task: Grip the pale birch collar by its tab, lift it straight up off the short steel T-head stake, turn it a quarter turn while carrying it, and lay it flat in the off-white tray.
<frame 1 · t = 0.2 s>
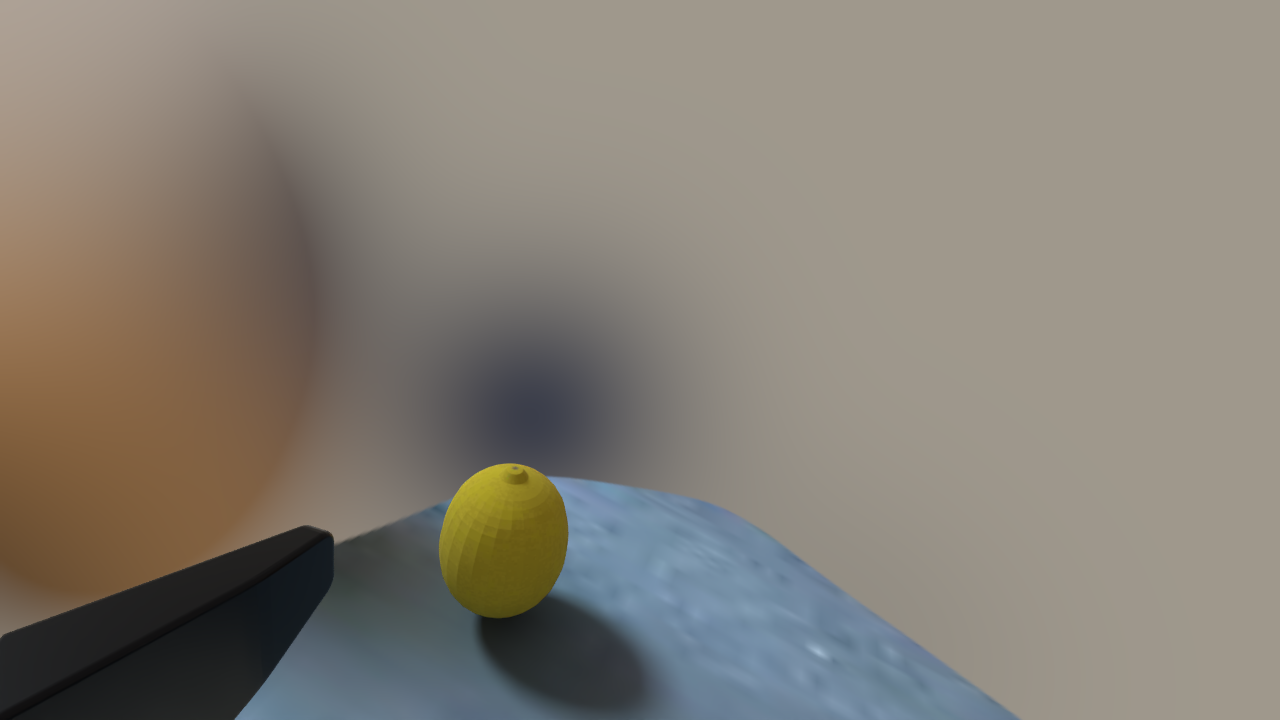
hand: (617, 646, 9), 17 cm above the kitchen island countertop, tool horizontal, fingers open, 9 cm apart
lemon: (495, 609, 30), on the kitchen island countertop
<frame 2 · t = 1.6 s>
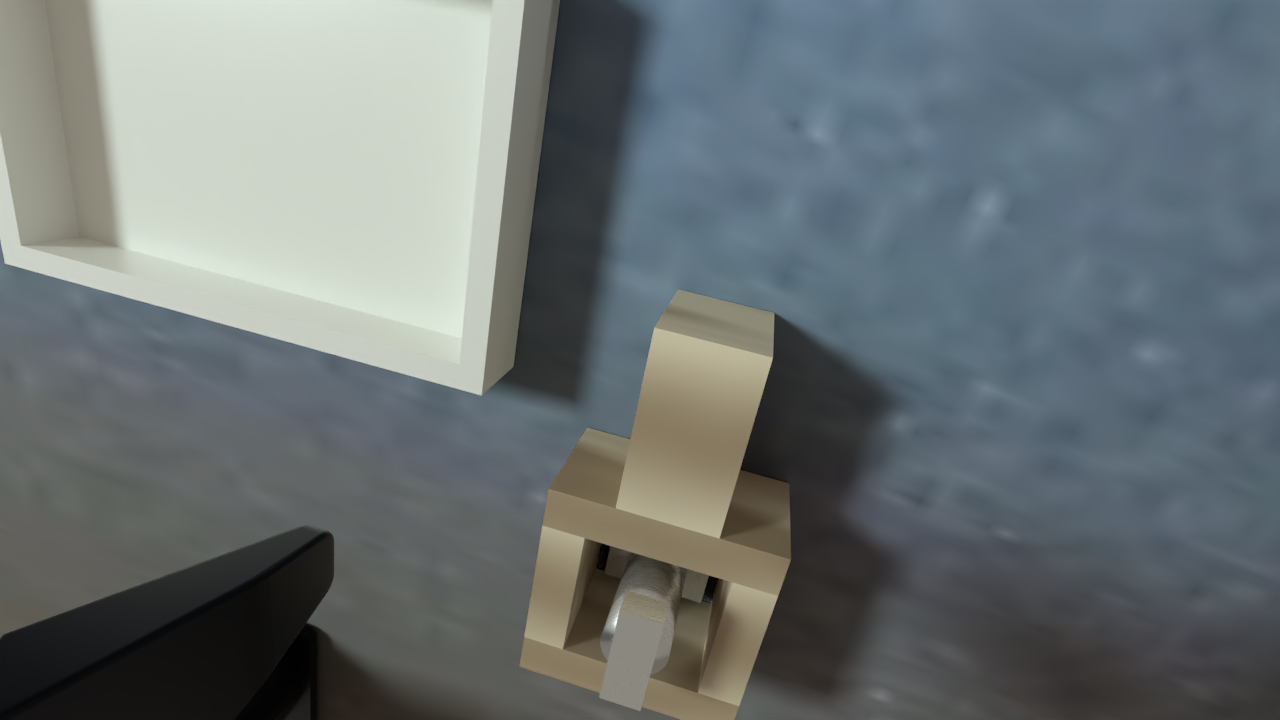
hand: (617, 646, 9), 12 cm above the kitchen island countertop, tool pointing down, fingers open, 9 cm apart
birch collar: (665, 538, 23), on the kitchen island countertop
tray: (283, 129, 20), on the kitchen island countertop
t stake: (665, 538, 23), on the kitchen island countertop
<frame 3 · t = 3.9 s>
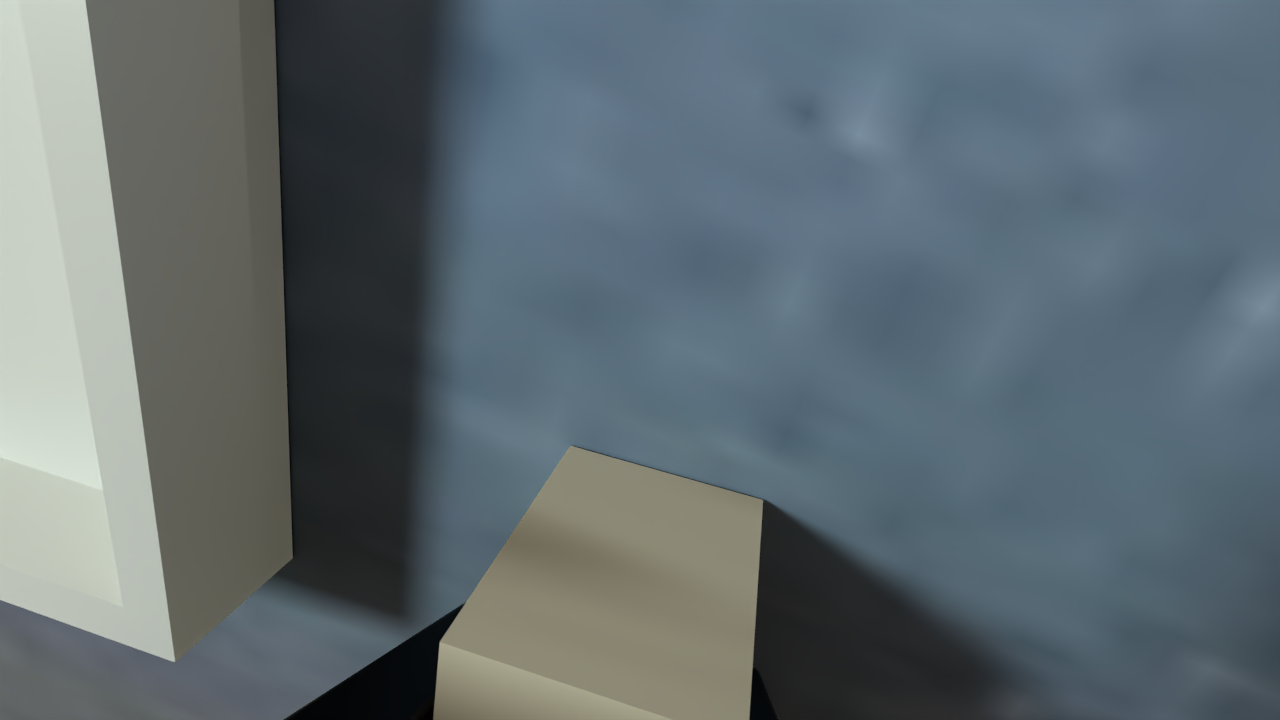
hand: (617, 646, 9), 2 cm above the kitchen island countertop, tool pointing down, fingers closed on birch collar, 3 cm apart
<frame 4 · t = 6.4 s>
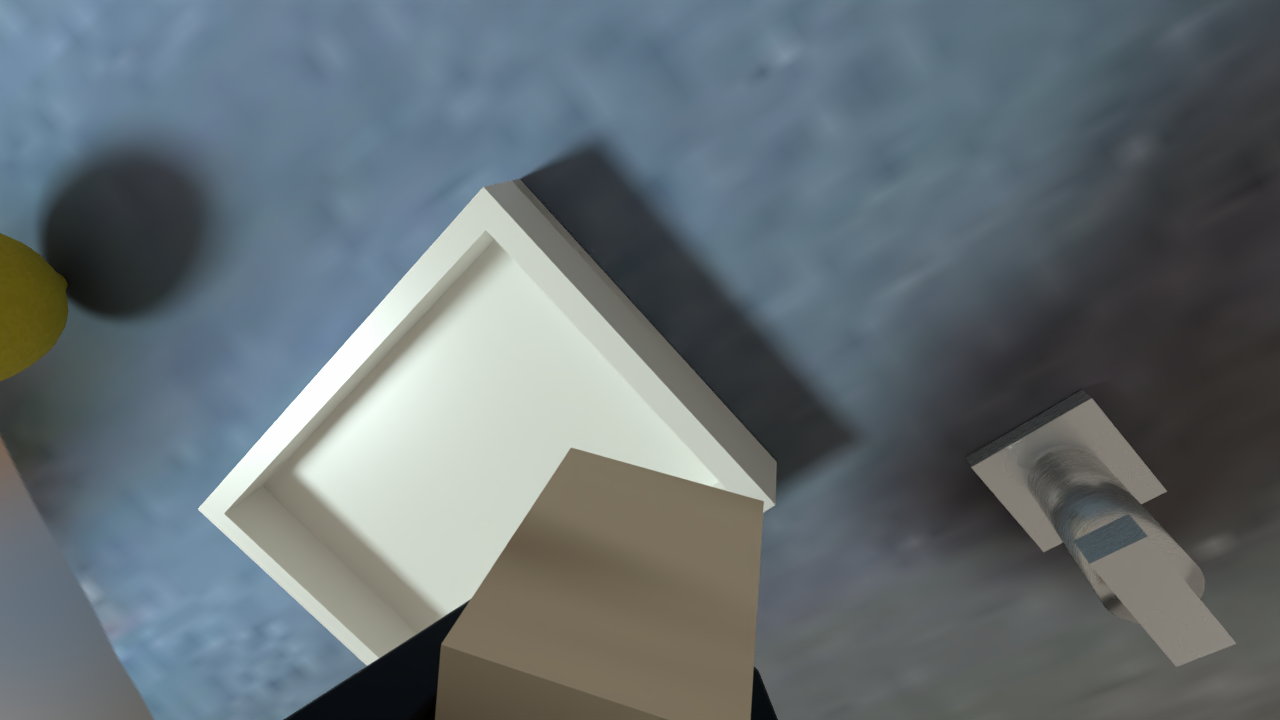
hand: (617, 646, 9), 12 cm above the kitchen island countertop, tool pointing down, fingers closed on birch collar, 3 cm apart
lemon: (68, 280, 25), on the kitchen island countertop
tray: (483, 468, 23), on the kitchen island countertop
t stake: (1058, 468, 19), on the kitchen island countertop
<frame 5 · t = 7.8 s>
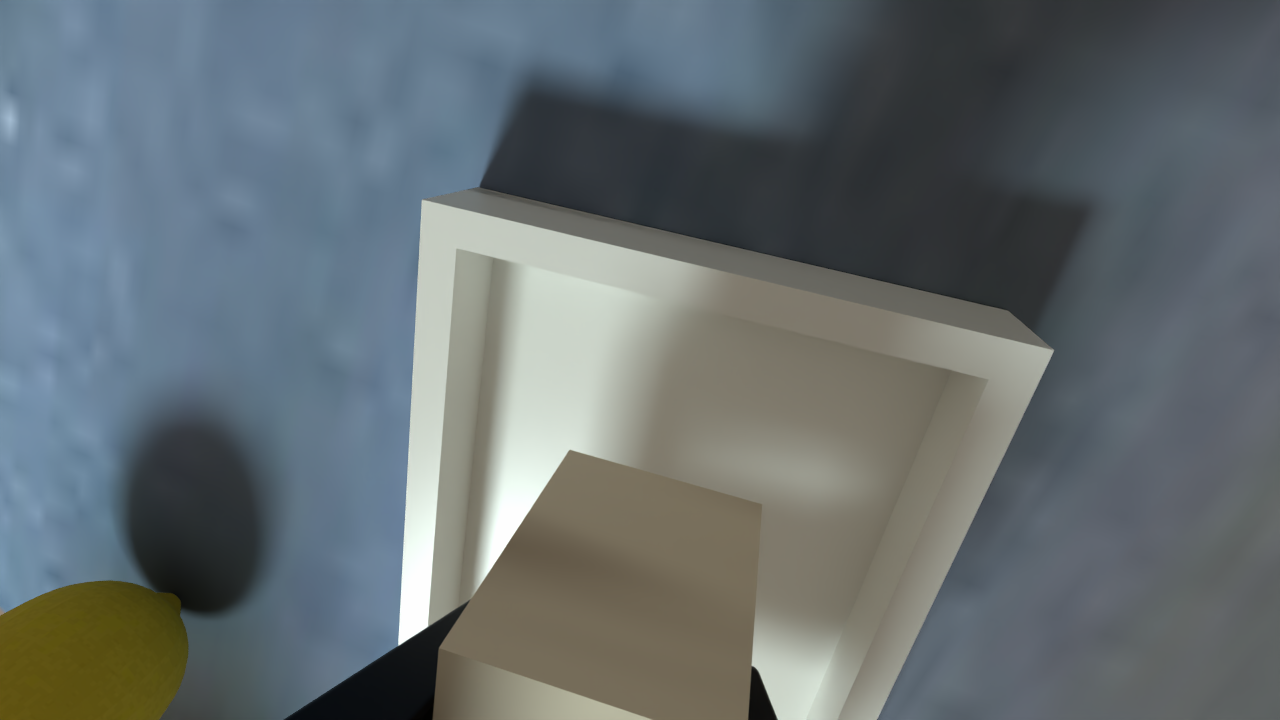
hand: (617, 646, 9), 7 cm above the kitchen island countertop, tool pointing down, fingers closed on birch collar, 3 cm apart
lemon: (180, 594, 23), on the kitchen island countertop
tray: (653, 551, 17), on the kitchen island countertop
when the fingers open (4 cm above the kitchen island countertop, at t = 9.1 s): birch collar drops 1 cm, resting on tray.
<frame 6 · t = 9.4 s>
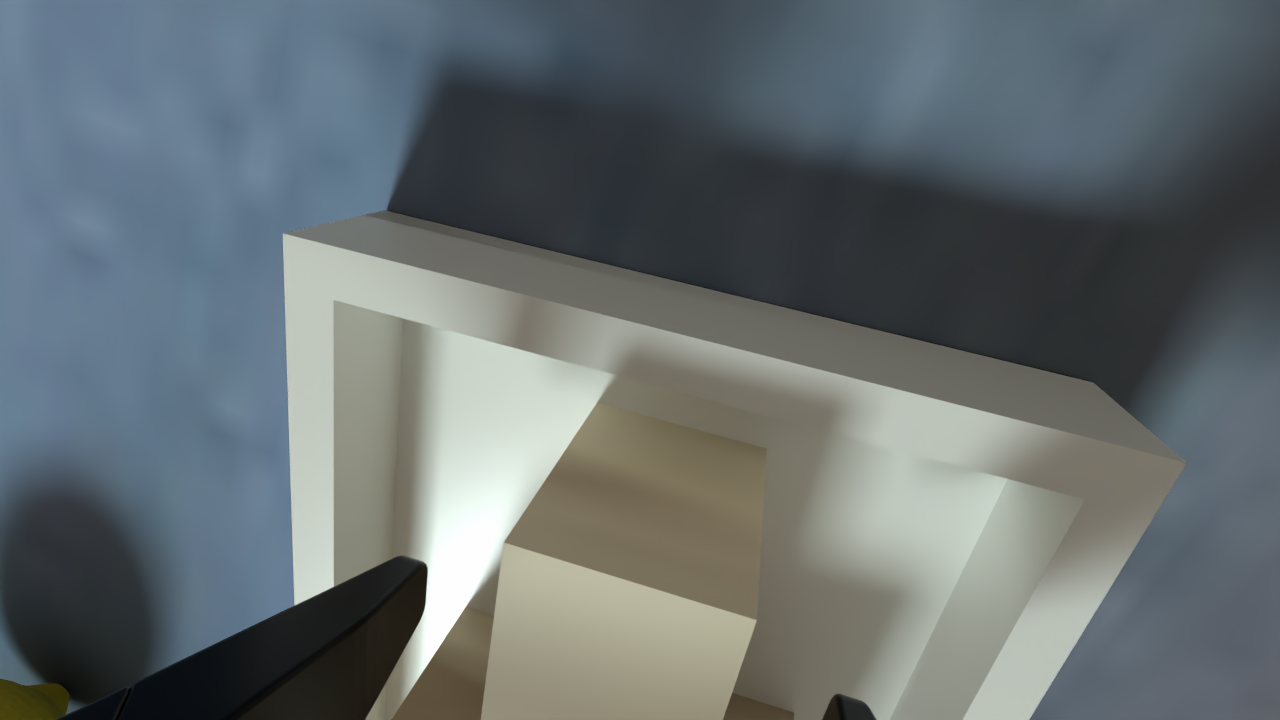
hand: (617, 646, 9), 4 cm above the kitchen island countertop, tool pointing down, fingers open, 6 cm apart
lemon: (70, 683, 19), on the kitchen island countertop
tray: (622, 663, 14), on the kitchen island countertop
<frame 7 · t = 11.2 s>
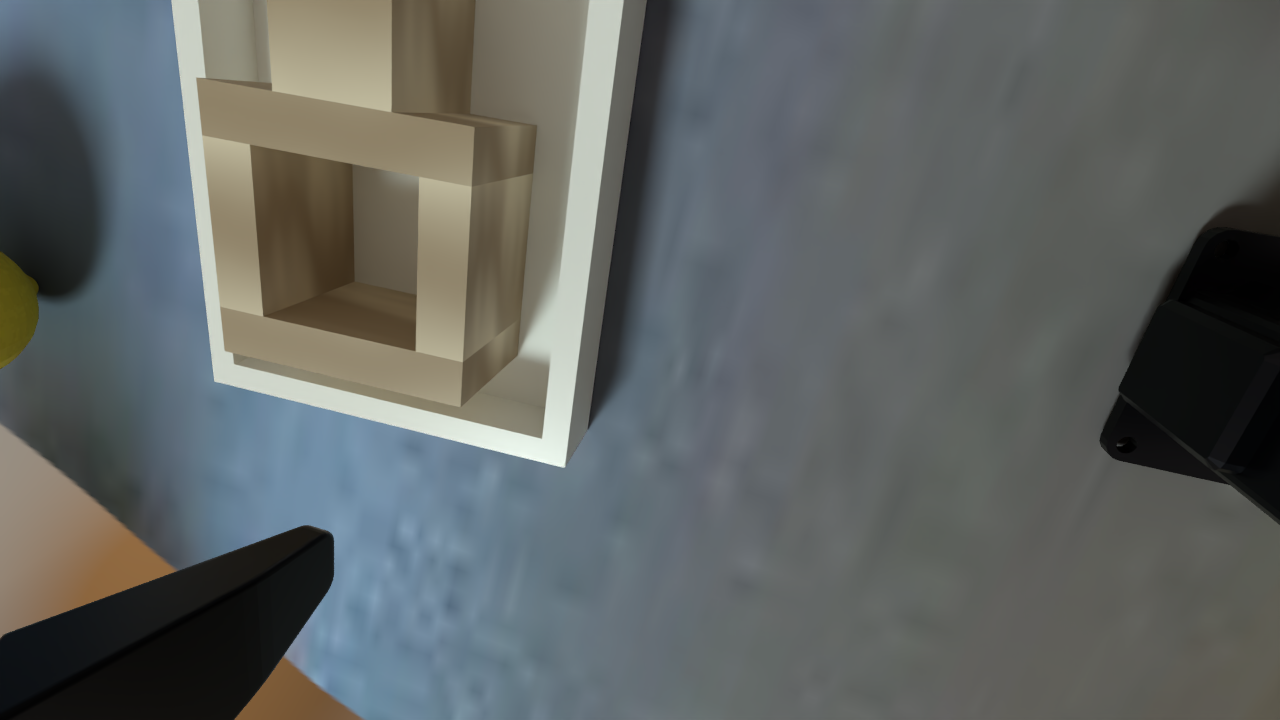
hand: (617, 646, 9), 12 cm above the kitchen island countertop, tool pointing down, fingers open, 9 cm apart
lemon: (39, 283, 24), on the kitchen island countertop
birch collar: (418, 226, 19), point 1 cm above the kitchen island countertop, touching tray
tray: (430, 134, 19), on the kitchen island countertop
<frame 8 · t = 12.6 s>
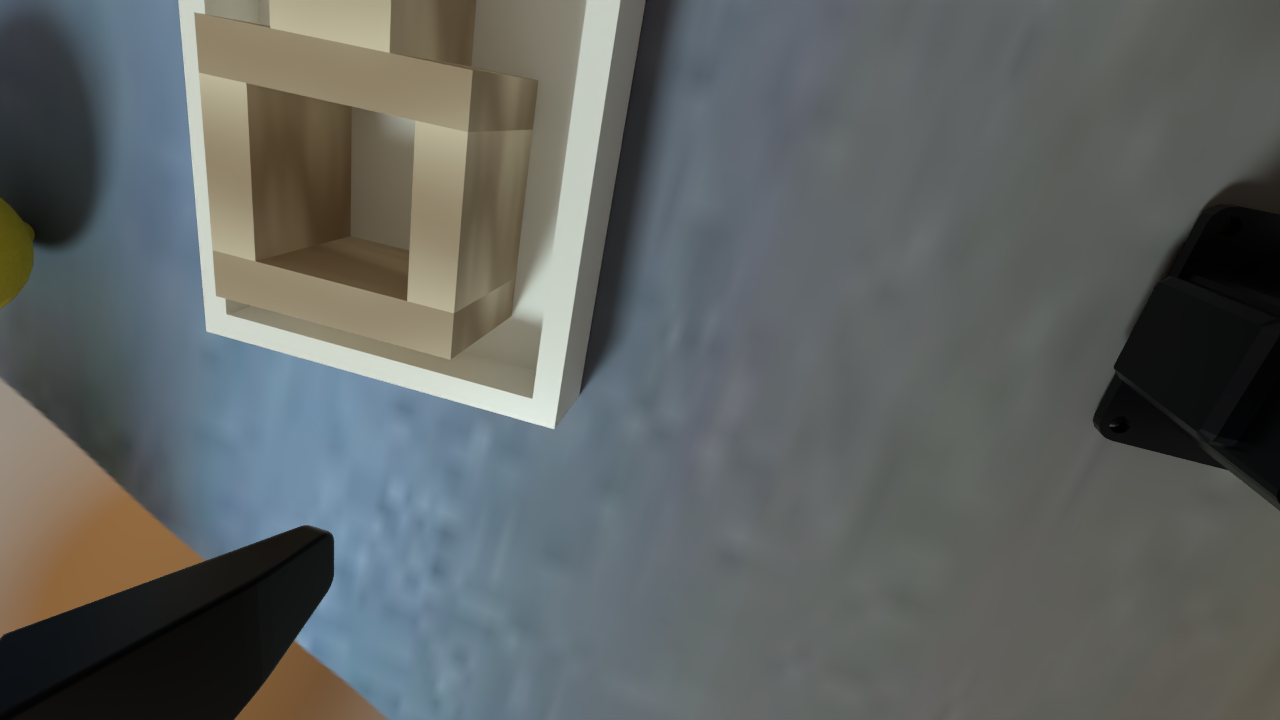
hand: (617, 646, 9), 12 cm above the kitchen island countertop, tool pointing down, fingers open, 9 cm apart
lemon: (35, 230, 24), on the kitchen island countertop
birch collar: (416, 181, 19), point 1 cm above the kitchen island countertop, touching tray
tray: (430, 88, 19), on the kitchen island countertop
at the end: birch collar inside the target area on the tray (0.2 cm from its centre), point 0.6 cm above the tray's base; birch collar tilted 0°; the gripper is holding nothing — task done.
